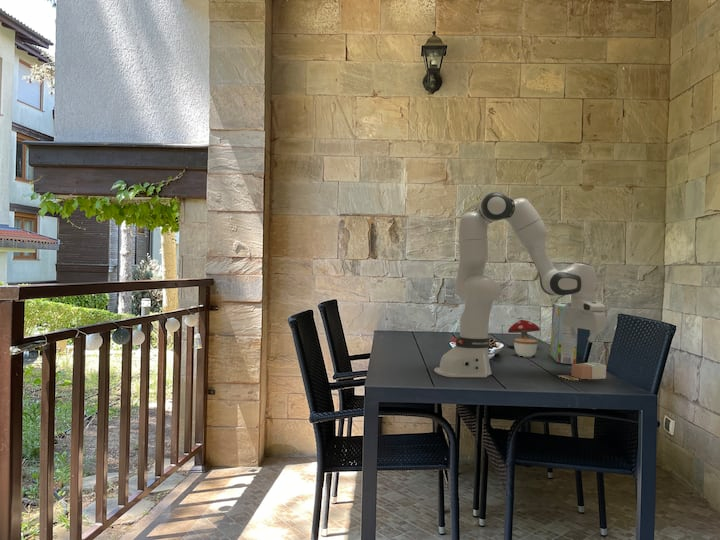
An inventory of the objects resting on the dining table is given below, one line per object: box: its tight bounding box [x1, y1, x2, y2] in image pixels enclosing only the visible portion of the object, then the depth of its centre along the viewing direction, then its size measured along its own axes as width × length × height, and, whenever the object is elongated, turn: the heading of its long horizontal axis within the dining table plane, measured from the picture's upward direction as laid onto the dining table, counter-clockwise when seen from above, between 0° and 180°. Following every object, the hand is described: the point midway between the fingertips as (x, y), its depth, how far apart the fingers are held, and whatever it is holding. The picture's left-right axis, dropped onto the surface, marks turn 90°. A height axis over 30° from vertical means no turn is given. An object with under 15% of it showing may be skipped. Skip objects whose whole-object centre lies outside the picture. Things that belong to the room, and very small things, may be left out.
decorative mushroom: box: [507, 319, 541, 339], centre depth 270 cm, size 16×16×15 cm
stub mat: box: [558, 374, 580, 381], centre depth 199 cm, size 4×7×1 cm, turn 16°
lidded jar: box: [513, 337, 538, 358], centre depth 247 cm, size 11×11×9 cm
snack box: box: [550, 303, 579, 365], centre depth 238 cm, size 22×9×26 cm, turn 168°
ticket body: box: [580, 362, 607, 380], centre depth 202 cm, size 6×6×5 cm
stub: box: [570, 363, 592, 380], centre depth 201 cm, size 4×6×5 cm, turn 16°
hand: (582, 340), depth 201 cm, fingers open, 8 cm apart
